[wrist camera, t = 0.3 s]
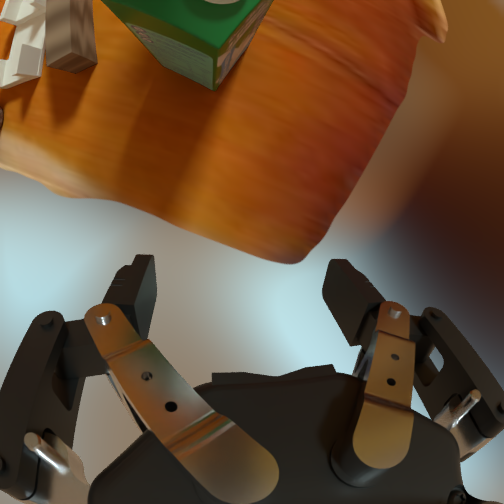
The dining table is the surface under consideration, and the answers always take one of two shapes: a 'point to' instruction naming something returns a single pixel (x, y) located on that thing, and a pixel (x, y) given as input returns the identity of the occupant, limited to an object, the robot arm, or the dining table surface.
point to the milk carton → (193, 33)
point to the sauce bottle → (1, 116)
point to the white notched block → (24, 41)
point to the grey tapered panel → (70, 35)
